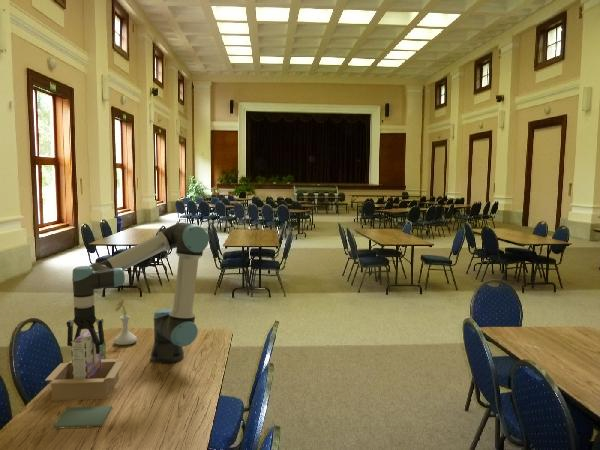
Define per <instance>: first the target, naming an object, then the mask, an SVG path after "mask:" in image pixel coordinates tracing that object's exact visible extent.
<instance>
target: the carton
mask: <svg viewBox="0 0 600 450" xmlns="http://www.w3.org/2000/svg"><path fill="white" fill-rule="evenodd" d="M124 363H125V362H124V361H119V358H106V359H101V369H100V370H98V371H97V372H96V373H95V374H94V375H93V376H92V377H91V378H90V379H73V373H72V359H71V360H70V361H69V362H61V363H59V365H57V367H56V368H55V369H54V370H52V372H51V373H50V374H49V375H48V376H47V377H46V378H45V379H44V381H45V382H50V387H51V401H52V402H53V401H54V402H55V401H77V400H78V401H79V400H80V401H81V400H82V401H83V400H106V399H108V398H109V397H110V395H111V394H112V392H113V391H114V388H115V386H116V385H117V383H118V382H119V380H120V379H119V373H120V372H119V371H121V368H122V366H123V365H124Z"/></svg>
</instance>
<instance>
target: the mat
mask: <svg viewBox="0 0 600 450" xmlns="http://www.w3.org/2000/svg"><path fill="white" fill-rule="evenodd" d="M112 409H113V405H99V406H98V405H93V406H90V405H89V406H69V407H66V408H65V410H64V411H63V412H62V414H61V415H60V417H59V418H58V419H57V420H56V422H55V423H54V425H53V427H52V428H55V429H61V428H60V427H65V428H64V429H71V428H70V427H80V428H91V427H90V426H102V425H104V424H103V423H105V422H106V420H107V418H108V416H109V415H110V412H111V411H112ZM104 421H105V422H104ZM87 426H89V427H87ZM66 427H68V428H66ZM102 427H103V426H102Z"/></svg>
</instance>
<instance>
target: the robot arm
mask: <svg viewBox="0 0 600 450" xmlns="http://www.w3.org/2000/svg"><path fill="white" fill-rule="evenodd" d="M209 240H210V238H209V234H208V232H207V230H206V229H205V228H204V227H202V226H200V225H198V224H192V223H188V222H177V223H176V224H175V223H174V224H172V225H171V226H168V227H166V228H164V229H162V230H160V231H158V232H157V235H155V236H153V237H151V238H149V239H146V240H144V241H142V242H140V243H138V244H136V245H134V246H132V247H130V248H128V249H126V250H123V251H122V252H120V253H117V254H116V255H114V256H111V257H108V258H107V259H105V260H102V261H101V262H93V263H91V264H89V265H85V266H84V265H83V266H82V265H81V266H76V267H75V268H73V269H72V274H71V275H72V277H71V278H72V279H71V280H72V281H71V282H72V293H73V296H72V297H73V306H74V308H73V313H74V317H73V319H72V320H71V319H69V320H68V321H66V323H65V324H66V326H67V339H66V340H67V343H66V344H67V347H71V342H72V341H73V340H74V339H76V338H77V337H79V336H80V335H81V334H82V330H89V332H90V334H91V336H92V339H93V341H94V343H95V346H94V347H93V349H94V363H96V362H97V361H98V354H99V353H100V345H103V343H104V342H105V333H104V325H103V324H104V319H103V318H101V319H98V318H97V317H96V309H95V307H96V306H95V290H101V289H108V288H116V287H120V286H123V285H124V284H125V280H126V277H125V275H126V274H125V272H124V271H125V270H128V269H129V268H131V267H134V266H135V265H137V264H139V263H142V262H144V261H145V260H148V259H149V258H152V257H153V256H156V255H157V254H159V253H161V252H164V251H167V252H168V251H171V250H174V249H175V250H176V251H175V253H176V255H177V256H178V263H177V270H176V279H175V281H176V282H175V289H174V297H173V303H172V304H173V305H172V308H163V309H160V310H156V311H155V312H154V314H153V328H154V329H153V331H154V333H153V336H154V342H153V346H152V350H151V351H150V352H151V353H150V360H151V361H152V362H153V363H156V364H157V363H158V364H170V363H176V362H179V361H181V360H182V359H183V358H184V357H185V355H184V354H185V353H184V352H185V350H184V348H183V347H187V346H190V345H191V344H192V343H193V342H195V341H196V338H197V336H198V333H199V331H198V326H197V324H195V321H196V320H195V319H196V314H195V313H194V312H193V309H194V299H195V290H196V284H197V283H196V282H197V274H198V265H199V259H200V258H201V257H203V254H204V253H203V252H204V251H205V250H206V248H207V247H208V246H209ZM95 323H96V325H97V330H98V333H99V339H98V336H97V334H96V332H95V330H96V328H95V325H94V324H95ZM74 324H75V326H76V327H77V328H76V331H75V335H73V334H74ZM73 336H74V337H73ZM99 340H100V341H99ZM105 343H106V342H105Z"/></svg>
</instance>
